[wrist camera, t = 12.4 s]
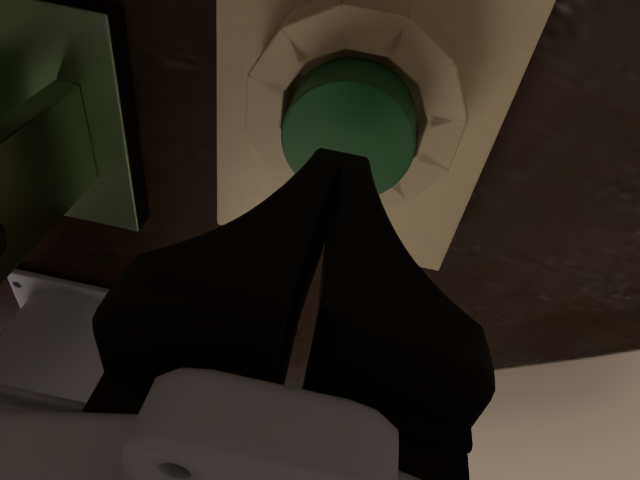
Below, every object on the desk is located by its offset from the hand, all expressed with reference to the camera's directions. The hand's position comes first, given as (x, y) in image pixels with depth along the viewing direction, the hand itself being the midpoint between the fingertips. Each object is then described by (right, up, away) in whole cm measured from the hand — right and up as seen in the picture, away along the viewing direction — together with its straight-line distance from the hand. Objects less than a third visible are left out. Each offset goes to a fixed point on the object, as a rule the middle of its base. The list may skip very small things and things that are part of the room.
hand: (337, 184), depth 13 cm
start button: (+1, +2, +3) cm, 4 cm away
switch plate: (+1, +4, +6) cm, 7 cm away
